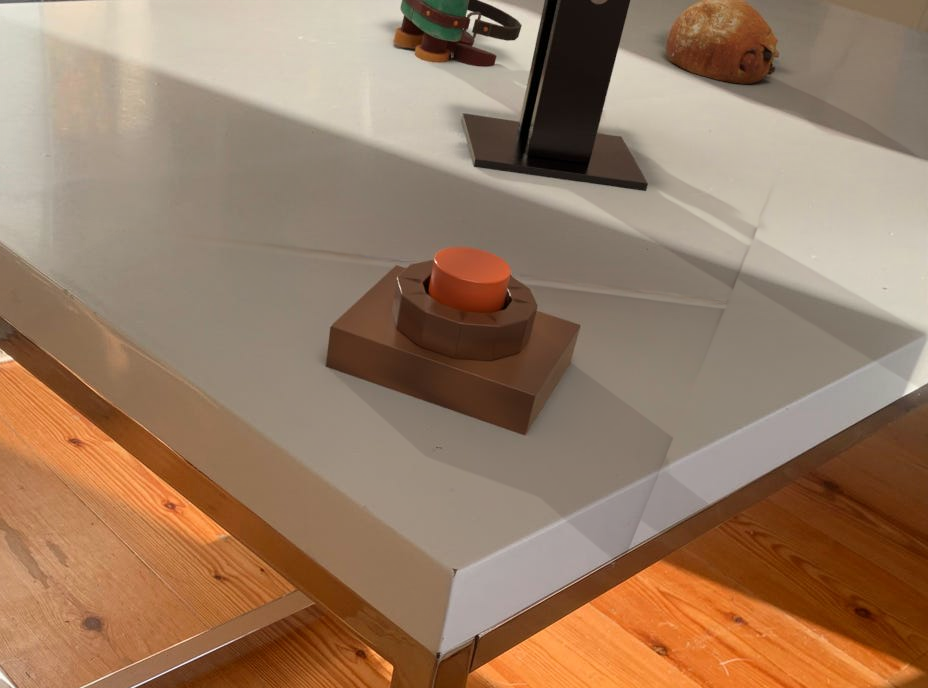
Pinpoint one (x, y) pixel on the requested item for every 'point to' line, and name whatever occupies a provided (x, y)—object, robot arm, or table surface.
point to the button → (469, 280)
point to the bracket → (563, 103)
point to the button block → (454, 349)
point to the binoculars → (452, 30)
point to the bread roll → (723, 42)
